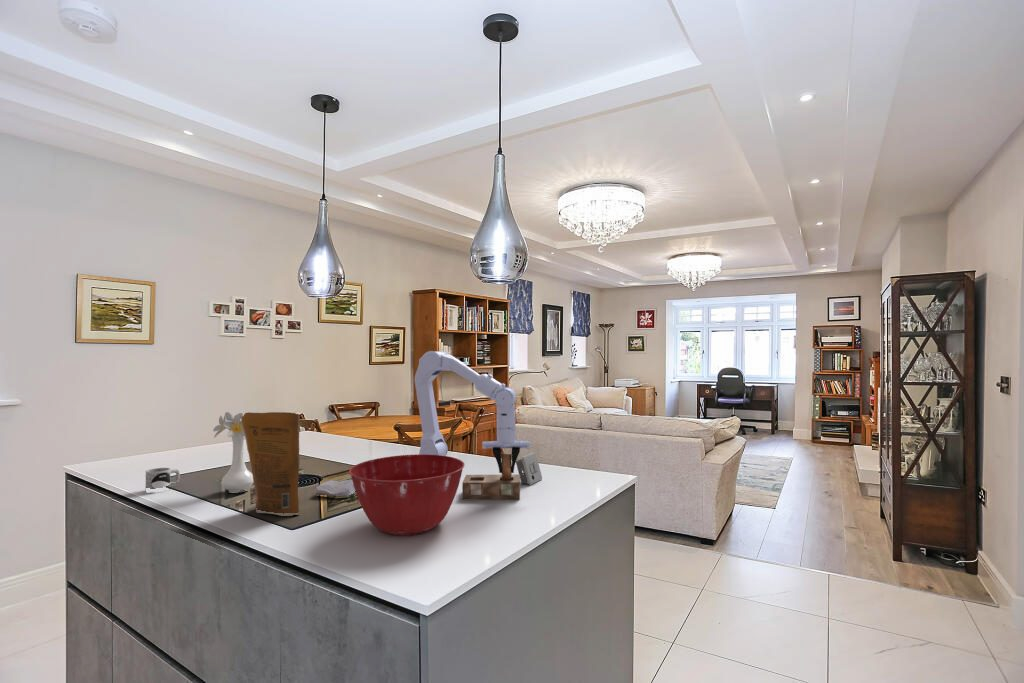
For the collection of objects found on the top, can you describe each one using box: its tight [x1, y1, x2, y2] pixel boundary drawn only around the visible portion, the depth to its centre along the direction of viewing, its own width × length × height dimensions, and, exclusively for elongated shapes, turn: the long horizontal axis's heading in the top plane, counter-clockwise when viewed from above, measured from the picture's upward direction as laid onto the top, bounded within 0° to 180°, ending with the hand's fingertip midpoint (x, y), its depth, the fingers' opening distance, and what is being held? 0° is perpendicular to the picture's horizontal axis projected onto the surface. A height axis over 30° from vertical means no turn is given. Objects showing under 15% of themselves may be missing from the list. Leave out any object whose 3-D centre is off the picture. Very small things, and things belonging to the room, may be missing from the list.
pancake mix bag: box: [240, 411, 301, 514], centre depth 146 cm, size 7×19×28 cm, turn 66°
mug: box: [145, 467, 181, 489], centre depth 173 cm, size 10×7×7 cm, turn 150°
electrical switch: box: [515, 452, 543, 486], centre depth 179 cm, size 9×5×9 cm, turn 152°
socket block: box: [461, 474, 521, 501], centre depth 163 cm, size 17×10×5 cm, turn 89°
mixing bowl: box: [348, 453, 465, 536], centre depth 134 cm, size 28×28×15 cm
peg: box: [501, 452, 513, 481], centre depth 162 cm, size 3×3×8 cm
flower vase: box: [213, 411, 254, 491], centre depth 170 cm, size 13×18×25 cm
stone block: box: [315, 478, 355, 496], centre depth 165 cm, size 12×5×10 cm
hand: (506, 472), depth 162 cm, fingers closed on peg, 3 cm apart
